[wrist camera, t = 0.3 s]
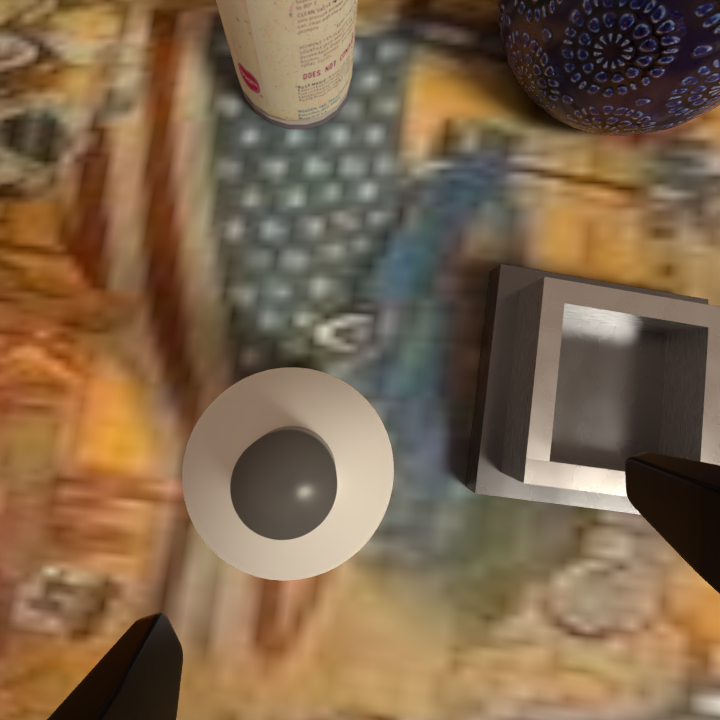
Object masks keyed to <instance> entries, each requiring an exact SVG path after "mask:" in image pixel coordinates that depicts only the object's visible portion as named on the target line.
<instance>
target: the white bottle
mask: <svg viewBox="0 0 720 720" xmlns="http://www.w3.org/2000/svg"><path fill="white" fill-rule="evenodd" d="M393 477H394V465H393V455H392V449H391V445H390V441H389V438H388V434H387V432H386V430H385V428H384V425H383V423H382V421H381V419H380V418H379V416H378V414H377V413H376V411H375V410H374V409H373V407H372V406H371V405H370V404H369V402H368V401H367V400H366V399H365V398H364V397H363V396H362V395H361V394H360V393H359V392H358V391H356V390H355V389H354V388H352V387H351V386H350V385H348V384H347V383H345V382H343V381H342V380H340V379H338V378H336V377H334V376H331V375H329V374H326V373H324V372H320V371H316V370H312V369H306V368H297V367H290V368H277V369H270V370H266V371H263V372H259V373H256V374H253V375H251V376H249V377H246V378H244V379H242V380H240V381H239V382H237V383H235V384H233V385H232V386H230V387H229V388H228V389H226V390H225V391H224V392H222V393H221V394H220V395H219V396H218V397H217V398H216V399H215V400H214V401H213V402H212V403H211V404H210V405H209V406H208V408H207V409H206V410H205V411H204V413H203V414H202V415H201V417H200V419H199V420H198V422H197V424H196V425H195V427H194V429H193V431H192V434H191V436H190V438H189V441H188V444H187V448H186V451H185V455H184V461H183V468H182V485H183V493H184V499H185V503H186V507H187V511H188V513H189V516H190V518H191V521H192V523H193V525H194V527H195V528H196V530H197V532H198V534H199V535H200V537H201V538H202V539H203V541H204V542H205V543H206V544H207V546H208V547H209V548H210V549H211V550H212V551H213V552H214V553H215V554H216V555H217V556H218V557H220V558H221V559H222V560H224V561H225V562H227V563H228V564H229V565H231V566H233V567H235V568H237V569H238V570H240V571H242V572H245V573H248V574H250V575H253V576H256V577H260V578H265V579H270V580H284V581H285V580H299V579H304V578H309V577H313V576H316V575H319V574H322V573H325V572H327V571H329V570H331V569H333V568H335V567H337V566H339V565H341V564H342V563H344V562H345V561H347V560H348V559H350V558H351V557H352V556H353V555H354V554H355V553H357V552H358V551H359V550H360V549H361V548H362V547H363V546H364V545H365V544H366V542H367V541H368V540H369V539H370V538H371V536H372V535H373V534H374V532H375V531H376V529H377V528H378V526H379V524H380V522H381V520H382V518H383V516H384V514H385V512H386V509H387V506H388V504H389V500H390V496H391V492H392V487H393Z"/></svg>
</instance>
